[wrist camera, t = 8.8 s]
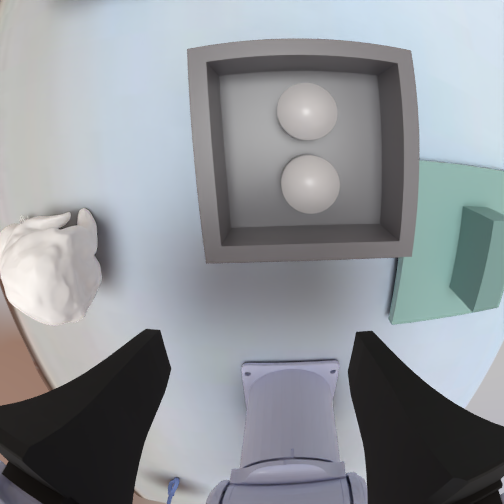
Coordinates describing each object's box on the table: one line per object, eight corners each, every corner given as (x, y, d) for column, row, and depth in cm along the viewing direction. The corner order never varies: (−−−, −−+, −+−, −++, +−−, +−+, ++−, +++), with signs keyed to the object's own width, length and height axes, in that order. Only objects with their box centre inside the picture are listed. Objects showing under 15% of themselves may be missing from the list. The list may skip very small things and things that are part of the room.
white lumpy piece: (57, 356, 12) (-27, 300, 14) (128, 289, 20) (35, 261, 22) (28, 253, 10) (-46, 227, 12) (122, 208, 18) (26, 198, 19)
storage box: (387, 233, 17) (411, 256, 14) (220, 238, 18) (206, 263, 15) (384, 66, 13) (411, 50, 10) (206, 67, 14) (187, 49, 11)
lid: (490, 299, 18) (519, 329, 14) (386, 314, 20) (407, 356, 15) (512, 172, 14) (553, 184, 10) (400, 158, 15) (439, 166, 11)
